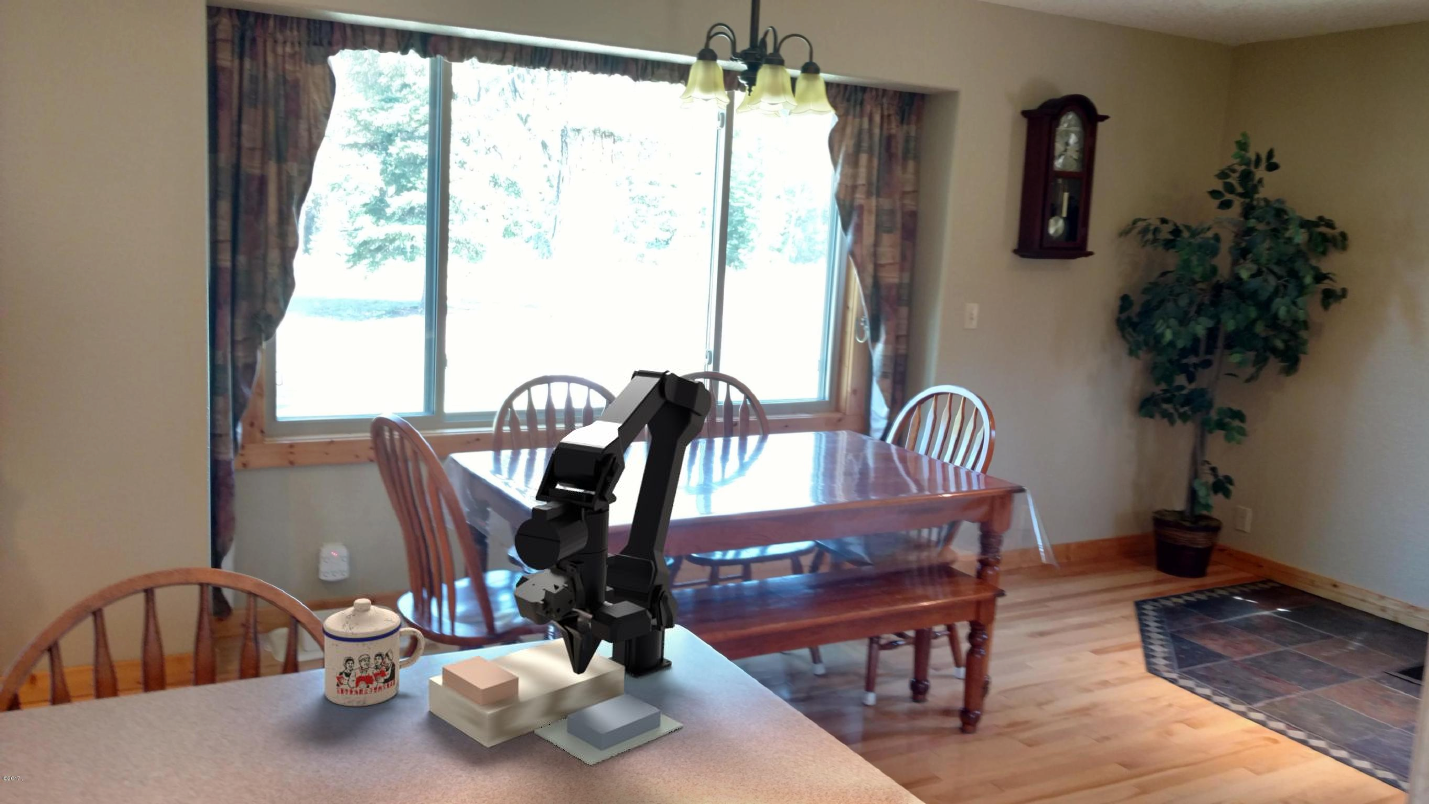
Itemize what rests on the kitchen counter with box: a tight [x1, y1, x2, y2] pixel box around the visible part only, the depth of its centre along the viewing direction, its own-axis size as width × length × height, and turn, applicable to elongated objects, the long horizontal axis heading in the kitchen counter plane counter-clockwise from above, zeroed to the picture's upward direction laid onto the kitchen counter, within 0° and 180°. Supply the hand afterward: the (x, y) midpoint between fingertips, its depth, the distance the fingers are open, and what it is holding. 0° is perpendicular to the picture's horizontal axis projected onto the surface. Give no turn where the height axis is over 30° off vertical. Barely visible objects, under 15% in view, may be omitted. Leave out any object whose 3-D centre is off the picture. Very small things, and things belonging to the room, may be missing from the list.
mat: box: [534, 713, 684, 766], centre depth 124 cm, size 14×10×1 cm
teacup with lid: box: [321, 598, 425, 707], centre depth 131 cm, size 12×9×12 cm
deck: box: [428, 637, 625, 748], centre depth 130 cm, size 20×12×4 cm, turn 136°
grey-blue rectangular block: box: [567, 692, 662, 751], centre depth 124 cm, size 9×6×2 cm, turn 137°
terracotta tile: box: [441, 655, 519, 706], centre depth 124 cm, size 5×8×2 cm, turn 46°
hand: (579, 673), depth 127 cm, fingers closed
